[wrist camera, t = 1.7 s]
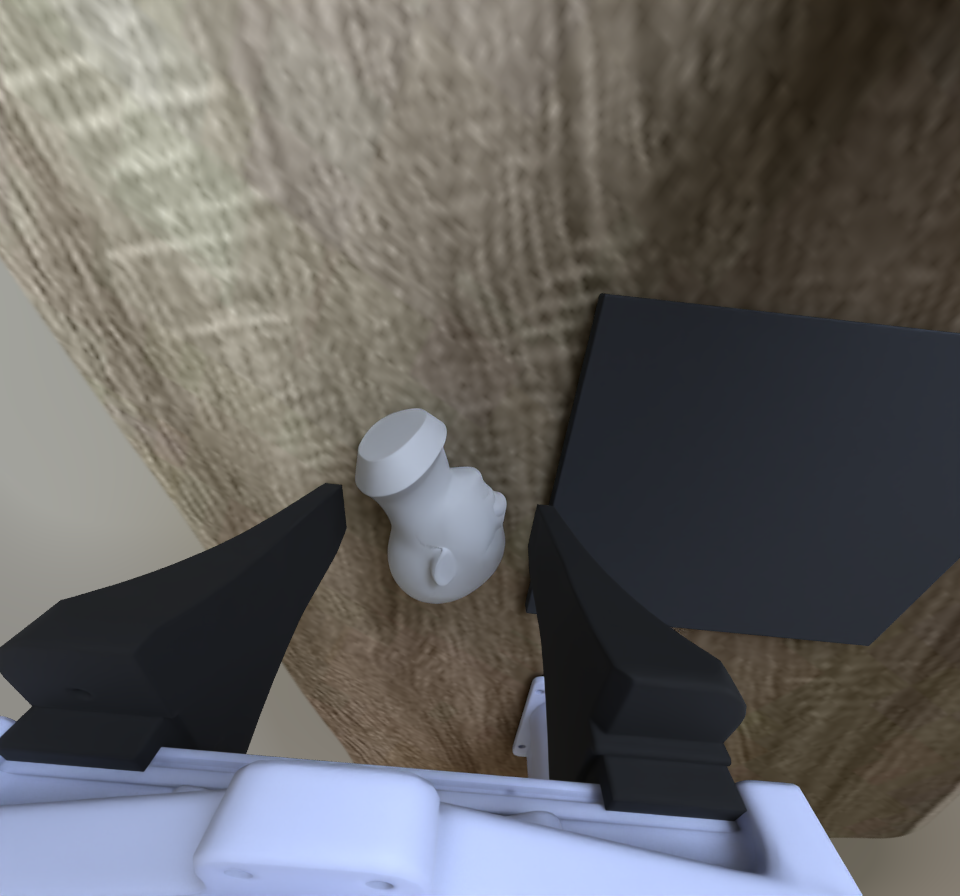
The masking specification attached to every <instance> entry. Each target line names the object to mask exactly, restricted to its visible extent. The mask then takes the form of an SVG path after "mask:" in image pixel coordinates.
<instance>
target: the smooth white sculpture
mask: <svg viewBox="0 0 960 896" xmlns="http://www.w3.org/2000/svg"><path fill="white" fill-rule="evenodd" d="M446 436H447V429H446V426H445V424H444V423H443V422H441V421H440V420H438V419H437V418H435V417H434V416H432V415H431V414H429V413H428V412H426V411H425V410H423V409H419V408H413V409H406V410H402V411H398V412H395V413H393V414H390V415H388V416H386V417H384V418H382V419H381V420H379V421H378V422H377V423H375V424H374V425H373V426H372V427H371V428H370V429H369V430H368V432H367V433H366V434H365V436H364V437H363V439H362V441H361V443H360V445H359V448H358V455H357V465H356V474H355V482H356V485H357V487H358V488H359V489H360V491H361V492H363V493H364V494H366V495H367V496H370V497H371V498H373V499H374V500H375V501H376V502H377V503H378V504H379V505H380V506H381V507H382V508H383V510H384V511H385V513H386V514H387V516H388V517H389V519H390V522H391V525H392V529H391V534H390V538H389V543H388V563H389V567H390V571H391V573H392V575H393V578H394V579H395V581H396V583H397V584H398V585H399V587H400V588H401V589H402V590H403V591H404V592H405V593H407V594H408V595H409V596H411V597H412V598H414V599H416V600H419V601H422V602H426V603H434V604H439V603H447V602H452V601H455V600H458V599H460V598H462V597H464V596H466V595H468V594H470V593H471V592H473V591H474V590H476V589H477V588H478V587H480V586H481V585H482V584H483V583H484V582H486V581H487V580H488V579H489V578H490V576H491V575H492V574H493V573H494V572H495V570H496V569H497V567H498V565H499V563H500V561H501V559H502V556H503V553H504V548H505V534H504V529H503V525H502V524H503V521H504V516H505V511H506V506H507V503H506V499H505V497H504V495H503V494H501V493H500V492H496V491H493V490H492V489H491V487H490V486H488V485H487V484H486V483H485V482H484V481H483V478H482V475H481V473H480V472H479V471H478V470H477V469H476V468H473V467H453V468H449V464H448V460H447V457H446V454H445V451H444V448H443V445H444V443H445V440H446Z"/></svg>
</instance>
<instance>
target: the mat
mask: <svg viewBox="0 0 960 896" xmlns="http://www.w3.org/2000/svg"><path fill="white" fill-rule="evenodd" d="M549 506H554V507H555V508H556V510H557V511H558V513H559V514H560V515H561V517H562V518H563V520H564V521H565V522H566V524H567V525H568V527H569V528H570V529H571V531H572V532H573V533H574V535H575V536H576V537H577V539H578V540H579V541H580V542H581V544H582V545H583V546H584V548H585V549H586V550H587V551H588V553H589V554H590V555H591V556H592V557H593V558H594V559H595V561H596V562H597V563H598V564H599V565H600V566H601V567H602V568H603V569H604V570H605V572H606V573H607V574H608V575H609V576H610V577H611V578H612V579H613V580H615V581H616V582H617V583H618V584H619V585H620V586H621V587H622V588H623V589H624V590H625V591H626V592H627V593H628V594H629V595H631V596H632V597H633V598H634V599H635V600H636V601H638V602H639V603H640V604H641V605H642V606H643V607H645V608H646V609H647V610H648V611H649V612H651V613H652V614H653V615H655V616H656V617H657V618H658V619H660V620H661V621H662V622H664V623H665V624H666V625H668V626H669V627H677V628H688V629H698V630H708V631H719V632H729V633H740V634H750V635H761V636H771V637H781V638H792V639H802V640H813V641H823V642H833V643H844V644H854V645H865V646H869V645H870V644H871V643H872V642H873V641H875V640H876V639H877V638H878V637H879V636H880V635H881V634H882V633H883V632H884V631H885V630H886V629H887V628H888V627H889V626H890V625H891V624H892V623H893V622H894V621H895V620H896V619H897V618H898V617H899V616H900V615H901V614H902V613H903V612H904V611H905V610H906V609H907V608H908V607H910V606H911V605H912V604H913V603H914V602H915V601H916V600H917V599H918V598H919V597H920V596H921V595H922V594H923V593H924V592H925V591H926V590H927V589H928V588H929V587H930V586H931V585H932V584H933V583H934V582H935V581H936V580H937V579H938V578H939V577H940V576H941V575H942V574H943V573H945V572H946V571H947V570H948V569H949V568H950V567H951V566H952V565H953V564H954V563H955V562H956V561H957V560H958V559H959V558H960V333H952V332H943V331H934V330H925V329H916V328H907V327H898V326H889V325H880V324H871V323H863V322H854V321H845V320H836V319H827V318H818V317H809V316H800V315H791V314H782V313H773V312H764V311H755V310H746V309H737V308H729V307H720V306H711V305H702V304H693V303H684V302H675V301H666V300H657V299H648V298H639V297H630V296H621V295H612V294H603V293H602V294H600V295H599V299H598V303H597V307H596V311H595V316H594V320H593V324H592V328H591V332H590V336H589V341H588V345H587V349H586V353H585V357H584V361H583V365H582V370H581V374H580V378H579V382H578V386H577V390H576V395H575V399H574V403H573V407H572V411H571V415H570V420H569V424H568V428H567V432H566V436H565V440H564V444H563V449H562V453H561V457H560V461H559V465H558V469H557V474H556V478H555V482H554V486H553V490H552V494H551V499H550V503H549ZM525 607H526V613H531V614H537V612H536V607H535V601H534V595H533V590H532V584H531V582H530V586H529V590H528V594H527V598H526V603H525Z"/></svg>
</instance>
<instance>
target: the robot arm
mask: <svg viewBox="0 0 960 896" xmlns="http://www.w3.org/2000/svg"><path fill="white" fill-rule="evenodd" d="M346 529H347V526H346V517H345V508H344V499H343V490H342V485H338V484H328V483H325V484H323V485H321V486H320V487H318V488H316V489H315V490H313V491H312V492H310V493H309V494H307V495H305V496H304V497H302V498H301V499H299V500H298V501H296V502H294V503H293V504H291V505H290V506H288V507H287V508H285V509H283V510H282V511H280V512H279V513H277V514H275V515H274V516H272V517H270V518H268V519H267V520H265V521H263V522H261V523H260V524H258V525H256V526H254V527H253V528H251V529H249V530H247V531H245V532H244V533H242V534H240V535H238V536H236V537H234V538H232V539H230V540H228V541H226V542H224V543H222V544H219V545H217V546H215V547H213V548H211V549H209V550H206V551H204V552H202V553H199V554H197V555H194V556H192V557H190V558H187V559H185V560H182V561H180V562H178V563H175V564H173V565H170V566H167V567H165V568H162V569H160V570H157V571H154V572H151V573H148V574H145V575H142V576H140V577H137V578H134V579H131V580H128V581H125V582H121V583H119V584H115V585H112V586H109V587H105V588H102V589H98V590H95V591H92V592H88V593H85V594H81V595H78V596H75V597H71V598H67V599H64V600H60V601H59V602H58V603H57V604H55V605H54V606H53V607H51V608H50V609H49V610H48V611H46V612H45V613H44V614H42V615H41V616H40V617H39V618H37V619H36V620H35V621H33V622H32V623H31V624H30V625H28V626H27V627H26V628H24V629H23V630H22V631H21V632H19V633H18V634H17V635H15V636H14V637H13V638H12V639H11V640H9V641H8V642H6V643H5V644H4V645H3V646H1V647H0V673H1V674H2V675H3V677H4V678H5V679H6V680H7V681H8V682H9V683H10V684H11V685H12V686H13V687H14V688H15V689H16V690H17V691H18V692H19V693H20V694H21V695H22V696H23V697H24V698H25V699H26V700H27V701H28V702H29V703H30V704H31V705H32V707H31V708H30V709H29V710H28V711H27V712H26V713H25V714H24V715H23V716H22V717H21V718H20V719H19V720H18V721H17V722H16V721H15V720H13V719H10V718H7V717H4V716H0V896H863V895H862V893H861V892H860V890H859V888H858V887H857V885H856V883H855V881H854V880H853V878H852V876H851V875H850V873H849V872H848V870H847V868H846V866H845V865H844V863H843V861H842V859H841V858H840V856H839V854H838V853H837V851H836V849H835V848H834V846H833V844H832V843H831V841H830V839H829V837H828V836H827V834H826V832H825V830H824V829H823V827H822V825H821V824H820V822H819V820H818V819H817V817H816V815H815V813H814V812H813V810H812V808H811V807H810V805H809V803H808V802H807V800H806V798H805V796H804V795H803V793H802V791H801V790H800V788H799V787H798V786H796V785H795V784H792V783H781V782H769V781H757V780H744V781H740V782H737V783H734V781H733V779H732V777H731V775H730V773H729V770H728V768H727V766H730V765H731V758H730V756H729V754H728V752H727V750H726V748H725V746H724V744H723V743H724V742H725V740H726V739H727V738H728V737H729V736H730V735H731V734H732V733H733V732H734V731H735V730H736V728H737V727H738V726H739V725H740V724H741V722H742V721H743V719H744V717H745V714H746V704H745V702H744V700H743V698H742V696H741V695H740V693H739V691H738V689H737V687H736V686H735V684H734V682H733V680H732V679H731V677H730V675H729V674H728V672H727V670H726V669H725V667H724V666H723V664H722V663H721V661H720V660H718V659H717V658H715V657H714V656H712V655H711V654H709V653H708V652H706V651H704V650H703V649H701V648H700V647H698V646H697V645H695V644H694V643H692V642H691V641H689V640H688V639H686V638H685V637H683V636H682V635H680V634H679V633H677V632H676V631H675V630H673V629H672V628H671V627H669V626H668V625H666V624H665V623H664V622H662V621H661V620H660V619H658V618H657V617H656V616H655V615H653V614H652V613H651V612H649V611H648V610H647V609H646V608H645V607H643V606H642V605H641V604H640V603H639V602H638V601H636V600H635V599H634V598H633V597H632V596H631V595H629V594H628V593H627V592H626V591H625V590H624V589H623V588H622V587H621V586H620V585H619V584H618V583H617V582H616V581H615V580H613V579H612V578H611V577H610V576H609V575H608V574H607V573H606V572H605V570H604V569H603V568H602V567H601V566H600V565H599V564H598V563H597V562H596V561H595V559H594V558H593V557H592V556H591V555H590V554H589V553H588V551H587V550H586V549H585V548H584V546H583V545H582V544H581V542H580V541H579V540H578V539H577V537H576V536H575V535H574V533H573V532H572V531H571V529H570V528H569V527H568V525H567V524H566V522H565V521H564V520H563V518H562V517H561V515H560V514H559V513H558V511H557V510H556V508H555V507H554V506H549V505H539V504H537V508H536V512H535V517H534V521H533V526H532V530H531V535H530V539H529V544H528V556H529V572H530V578H531V584H532V590H533V595H534V601H535V607H536V612H537V618H538V623H539V629H540V636H541V645H542V657H543V670H544V676H539V677H536V678H534V679H533V681H532V684H531V687H530V691H529V694H528V697H527V701H526V704H525V707H524V711H523V714H522V717H521V720H520V724H519V727H518V730H517V734H516V737H515V740H514V744H513V754H514V755H516V756H522V757H527V770H528V778H520V777H509V776H497V775H485V774H473V773H462V772H450V771H438V770H426V769H415V768H403V767H391V766H379V765H368V764H356V763H343V762H332V761H320V760H308V759H297V758H285V757H273V756H262V755H249V754H246V752H247V750H248V747H249V744H250V742H251V739H252V736H253V733H254V731H255V728H256V725H257V722H258V719H259V717H260V714H261V711H262V709H263V706H264V704H265V701H266V699H267V696H268V694H269V691H270V688H271V685H272V683H273V681H274V678H275V676H276V673H277V671H278V668H279V666H280V664H281V661H282V659H283V657H284V654H285V652H286V649H287V647H288V645H289V643H290V640H291V638H292V636H293V634H294V631H295V629H296V627H297V625H298V622H299V620H300V618H301V616H302V614H303V612H304V610H305V608H306V607H307V605H308V603H309V601H310V600H311V598H312V596H313V594H314V592H315V591H316V589H317V587H318V585H319V584H320V582H321V580H322V578H323V577H324V575H325V573H326V571H327V570H328V568H329V566H330V564H331V562H332V561H333V559H334V557H335V555H336V553H337V551H338V549H339V546H340V544H341V542H342V539H343V536H344V534H345V531H346Z"/></svg>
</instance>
